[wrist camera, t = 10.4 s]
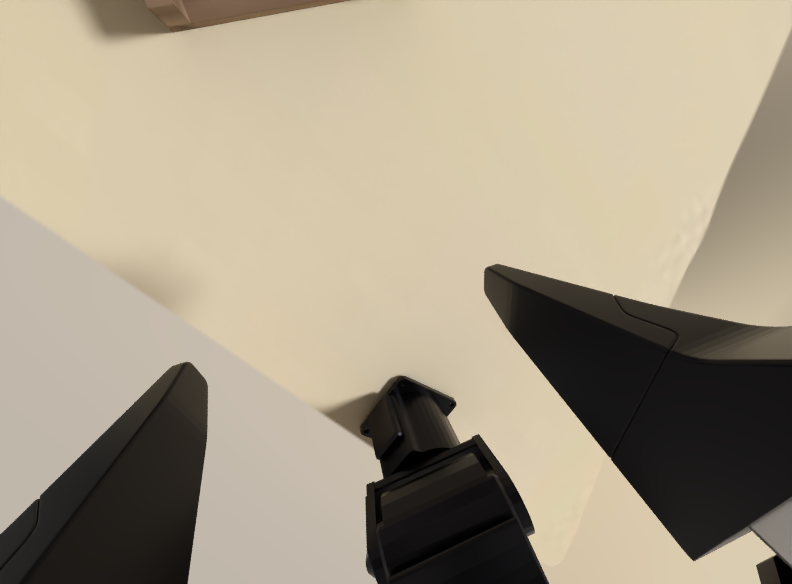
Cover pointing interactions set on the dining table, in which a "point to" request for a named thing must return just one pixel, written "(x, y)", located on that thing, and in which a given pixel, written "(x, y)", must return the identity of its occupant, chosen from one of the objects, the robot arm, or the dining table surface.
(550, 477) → the dining table surface
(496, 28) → the dining table surface
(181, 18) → the wooden tray
